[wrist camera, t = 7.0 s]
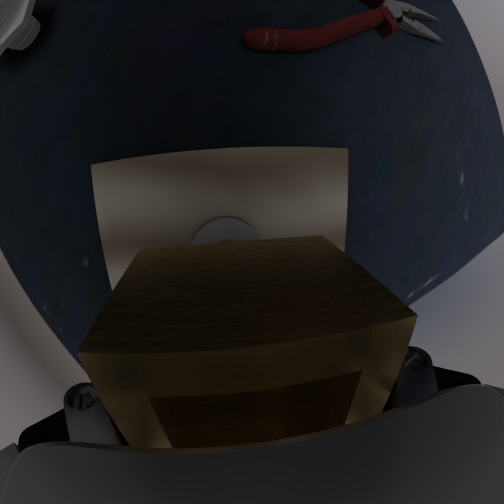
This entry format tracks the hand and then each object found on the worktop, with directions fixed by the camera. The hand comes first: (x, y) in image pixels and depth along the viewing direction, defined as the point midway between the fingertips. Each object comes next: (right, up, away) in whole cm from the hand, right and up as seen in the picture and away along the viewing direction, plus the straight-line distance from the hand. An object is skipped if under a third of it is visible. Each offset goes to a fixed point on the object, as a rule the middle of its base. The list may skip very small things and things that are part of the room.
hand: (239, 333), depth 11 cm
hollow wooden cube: (0, 0, +1) cm, 1 cm away
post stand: (-1, +4, +10) cm, 11 cm away
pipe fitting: (-19, +22, +1) cm, 29 cm away
